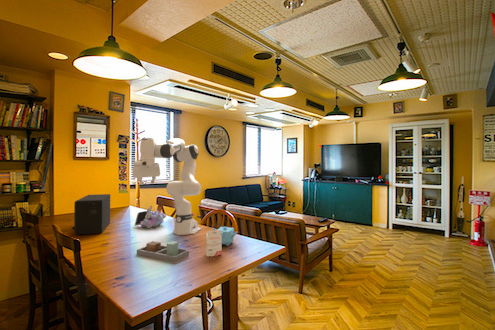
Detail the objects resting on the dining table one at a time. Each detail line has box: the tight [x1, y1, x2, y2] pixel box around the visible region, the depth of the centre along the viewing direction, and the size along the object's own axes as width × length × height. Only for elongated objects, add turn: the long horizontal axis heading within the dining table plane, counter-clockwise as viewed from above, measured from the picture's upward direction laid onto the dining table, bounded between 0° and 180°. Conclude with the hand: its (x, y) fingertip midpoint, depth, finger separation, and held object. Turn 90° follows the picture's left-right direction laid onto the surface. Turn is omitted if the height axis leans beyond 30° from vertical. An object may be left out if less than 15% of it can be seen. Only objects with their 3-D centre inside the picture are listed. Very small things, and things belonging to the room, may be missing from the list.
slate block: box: [166, 240, 179, 256], centre depth 141 cm, size 4×4×8 cm
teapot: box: [211, 226, 238, 247], centre depth 167 cm, size 16×18×11 cm
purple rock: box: [134, 205, 167, 229], centre depth 208 cm, size 20×22×18 cm
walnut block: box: [145, 240, 162, 253], centre depth 146 cm, size 5×6×6 cm
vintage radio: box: [71, 193, 111, 236], centre depth 198 cm, size 38×20×25 cm, turn 20°
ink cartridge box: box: [205, 229, 223, 257], centre depth 147 cm, size 9×5×15 cm, turn 105°
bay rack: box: [136, 244, 190, 265], centre depth 144 cm, size 12×27×4 cm, turn 67°
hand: (147, 184), depth 163 cm, fingers open, 8 cm apart
